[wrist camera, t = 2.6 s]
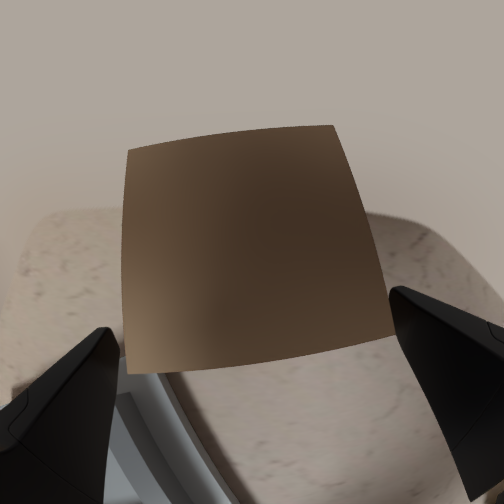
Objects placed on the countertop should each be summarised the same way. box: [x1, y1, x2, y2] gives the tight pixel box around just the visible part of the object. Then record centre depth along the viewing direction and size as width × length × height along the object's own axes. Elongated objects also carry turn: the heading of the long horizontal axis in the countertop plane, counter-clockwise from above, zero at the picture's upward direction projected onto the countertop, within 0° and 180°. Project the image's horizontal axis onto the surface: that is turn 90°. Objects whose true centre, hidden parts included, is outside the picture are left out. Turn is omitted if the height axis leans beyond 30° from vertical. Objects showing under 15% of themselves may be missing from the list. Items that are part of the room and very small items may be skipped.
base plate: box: [0, 356, 240, 504], centre depth 12 cm, size 14×14×4 cm
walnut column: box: [121, 125, 396, 374], centre depth 11 cm, size 4×4×13 cm
